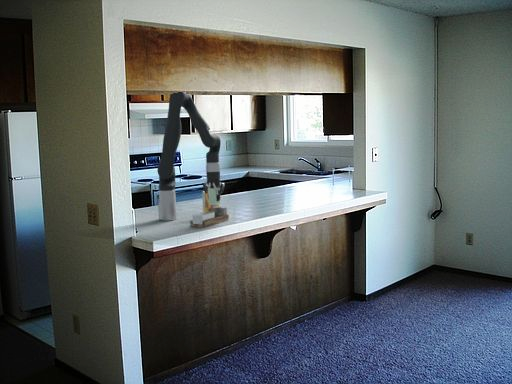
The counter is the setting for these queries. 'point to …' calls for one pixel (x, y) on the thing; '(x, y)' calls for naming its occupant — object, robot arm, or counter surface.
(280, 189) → the counter surface
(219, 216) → the channel
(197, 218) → the jaw
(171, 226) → the counter surface
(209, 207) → the candy box
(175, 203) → the robot arm
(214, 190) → the block
